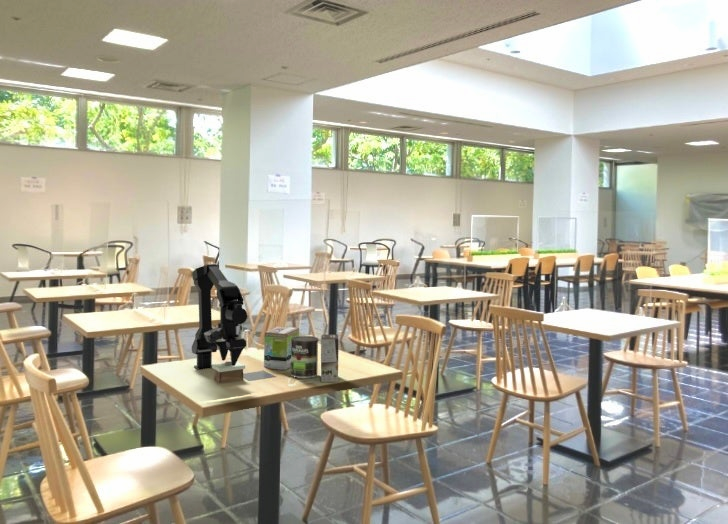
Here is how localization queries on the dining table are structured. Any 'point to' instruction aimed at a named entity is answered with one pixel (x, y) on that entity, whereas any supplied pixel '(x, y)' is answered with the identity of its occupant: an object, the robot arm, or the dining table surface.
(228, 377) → the box
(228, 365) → the lid
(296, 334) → the tea box
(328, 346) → the coffee box
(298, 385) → the dining table surface
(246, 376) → the coaster
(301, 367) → the coffee can
